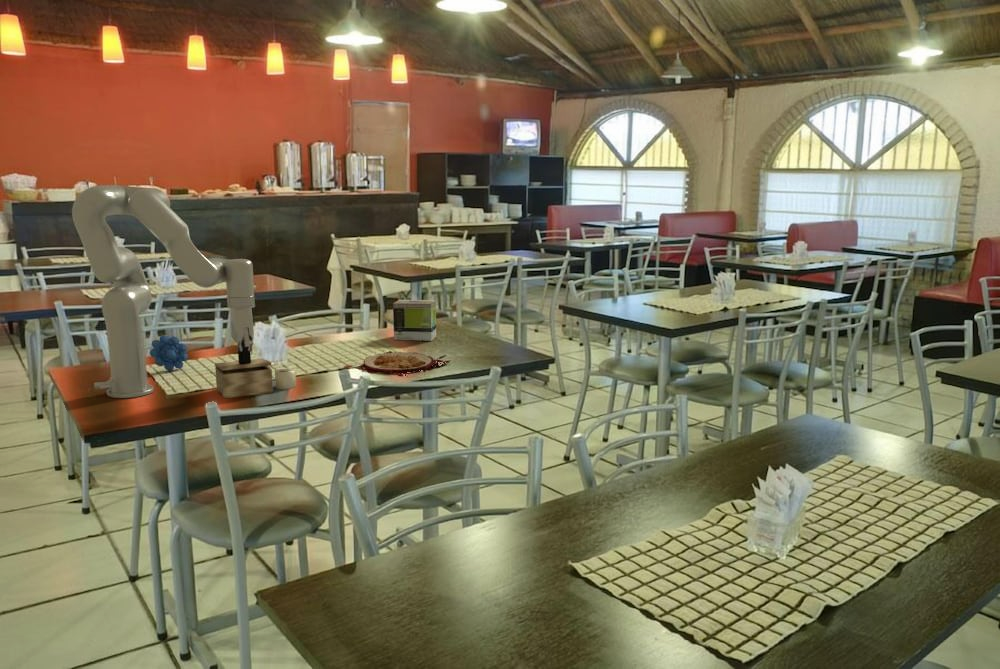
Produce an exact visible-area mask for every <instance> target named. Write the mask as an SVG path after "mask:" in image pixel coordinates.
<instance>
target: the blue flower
mask: <svg viewBox="0 0 1000 669" xmlns="http://www.w3.org/2000/svg"><path fill="white" fill-rule="evenodd" d="M151 346H152V347H153V348H151V349H150V351H149V354H150V356H151V357H152V358H154V364H155V365H156V366H157V367H164V369H165V370H167V371H169V372H170V371H172V370H174V368H176V369H178V370H179V369H182V368H183V367H184V362H186V361H188V360H189V356H188V354H187V353H186V352H187V349H188V347H187V345H186V344H185V343H182V342H181V343H180V339H179V338H178V337H177V336H175V335H174V336H171V337H169V336H168V335H167V334H162V335H160V336H159V340H158V339H153V340H152V341H151Z"/></svg>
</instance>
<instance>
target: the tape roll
mask: <svg viewBox="0 0 1000 669" xmlns="http://www.w3.org/2000/svg"><path fill="white" fill-rule="evenodd" d="M296 377H297V375H296V369H294V368H289V367H287V368H279V369H275V371H274V380H275V381H274V383H275V385H274V386H275V389H277V390H291V389H294V388H297V378H296Z"/></svg>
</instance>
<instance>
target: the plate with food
mask: <svg viewBox="0 0 1000 669" xmlns="http://www.w3.org/2000/svg"><path fill="white" fill-rule="evenodd" d="M444 357H447V355H446V354H444V355H442V356H439V357H437V359H434V358H433V357H432V356H431V355H426V354H424V353H423V354H422V353H420V352H419V353H418V352H410V351H407V352H402V351H401V352H400V351H398V352H397V351H391V350H389V351H387V352H384V353H378V354H375V355H371V356H368V357H367V356H366V358H365V359H364V360H363V362H364V363H363V362H362V363H363V364H362V365H361V366H357V367H355V369H356V370H359V371H362V372H364V373H365V371H366V372H367V373H370V374H374V373H375V374H377V373H376V372H380V374H389V373H403V374H405V376H406V374H409V373H407V372H411V373H414V372H413V371H418V372H420V371H421V370H425V371H426V369H427V370H428V369H429V370H430V371H431V368H436V367H438V368H440V367H439V365H437V363H438V362H443V363H444V364H442V365H443V366H445V365H446V364H450V362H451V360H450V359H449V360H442V359H443V358H444ZM436 361H437V363H436ZM445 362H446V363H445ZM440 364H441V363H440ZM363 365H364V366H363ZM432 365H433V366H432ZM352 367H354V365H353V364H351V365H343V368H345V369H347V370H351V369H352ZM419 370H420V371H419ZM429 370H428V371H429ZM396 375H398V376H400V374H396ZM409 375H410V374H409Z"/></svg>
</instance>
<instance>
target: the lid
mask: <svg viewBox="0 0 1000 669" xmlns="http://www.w3.org/2000/svg"><path fill="white" fill-rule="evenodd" d="M214 366H215V367H218V368H219V369H221V370H231V369H241V368H250V367H259V366H268V367H269V366H272V361H269V360H267V359H265V358H255V359H254V358H253V359H252V358H251V363H250V364H241V365H240V364H239V360H234V361H233V360H232V361H226V362H215V363H214Z"/></svg>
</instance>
